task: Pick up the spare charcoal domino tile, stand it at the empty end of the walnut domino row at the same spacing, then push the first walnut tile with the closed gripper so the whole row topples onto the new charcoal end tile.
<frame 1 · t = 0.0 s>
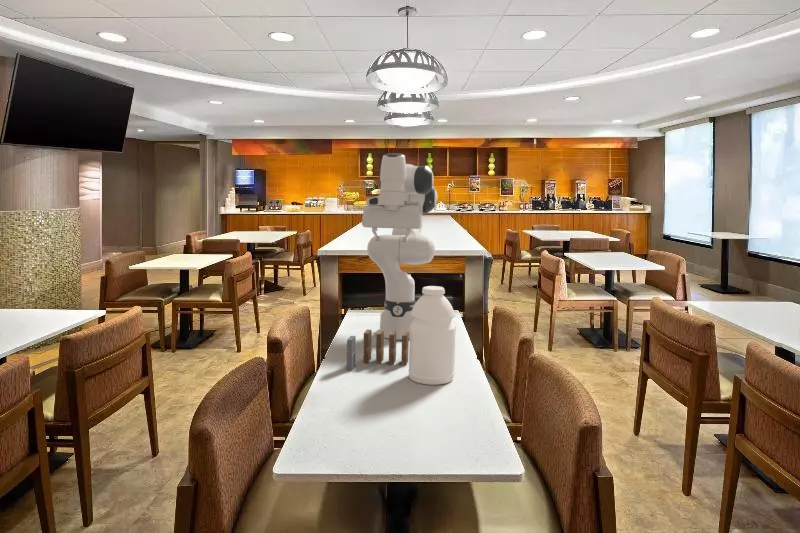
hand: (391, 241, 199), 39 cm above the table, tool pointing down, fingers open, 8 cm apart
domino 2: (392, 362, 193), on the table
end domino: (351, 368, 186), on the table
domino 4: (367, 360, 195), on the table
domino 3: (379, 361, 194), on the table
bottle: (431, 378, 179), on the table
domino 1: (404, 363, 193), on the table
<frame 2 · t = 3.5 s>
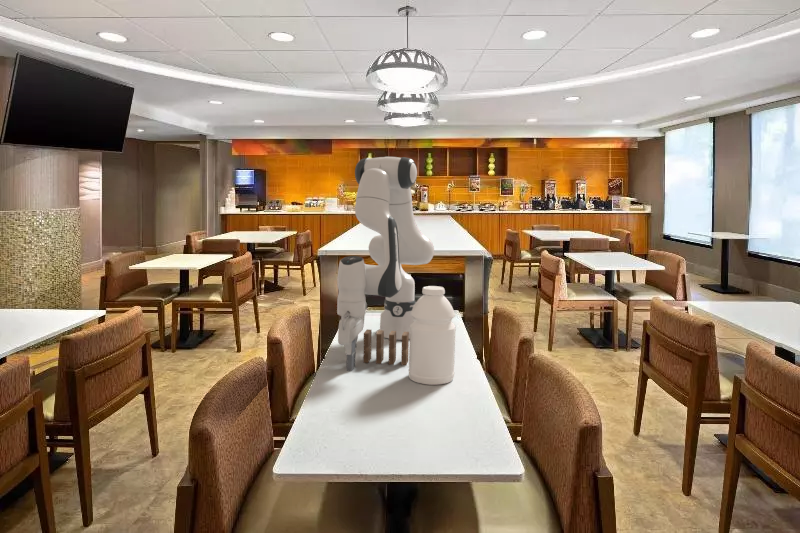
hand: (351, 351, 186), 6 cm above the table, tool pointing down, fingers closed on end domino, 5 cm apart
end domino: (351, 368, 186), on the table, touching gripper
everything else where it was.
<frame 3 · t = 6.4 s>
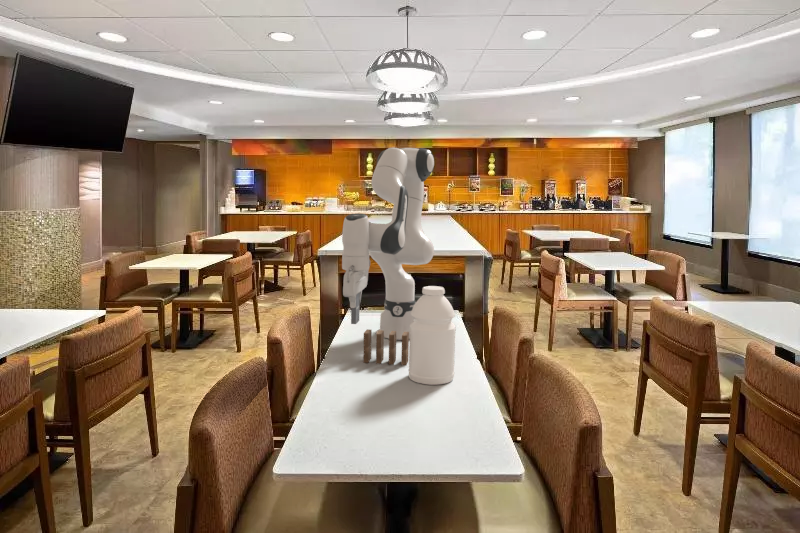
hand: (355, 305, 193), 18 cm above the table, tool pointing down, fingers closed on end domino, 5 cm apart
end domino: (355, 322, 193), point 13 cm above the table, touching gripper
everything else where it was.
when the fingers open (7 cm above the table, at t = 9.4 s): end domino stays where it is, on the table.
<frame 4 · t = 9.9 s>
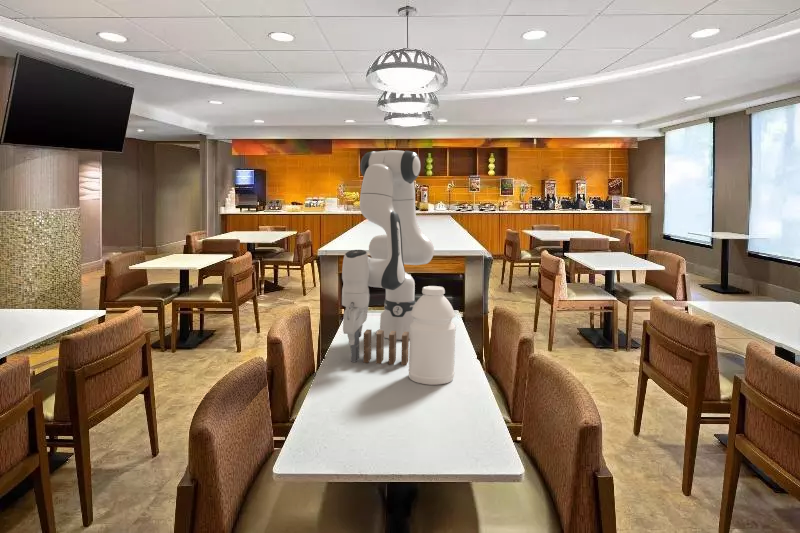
hand: (355, 340, 194), 7 cm above the table, tool pointing down, fingers open, 8 cm apart
end domino: (355, 359, 195), on the table
everything else where it was.
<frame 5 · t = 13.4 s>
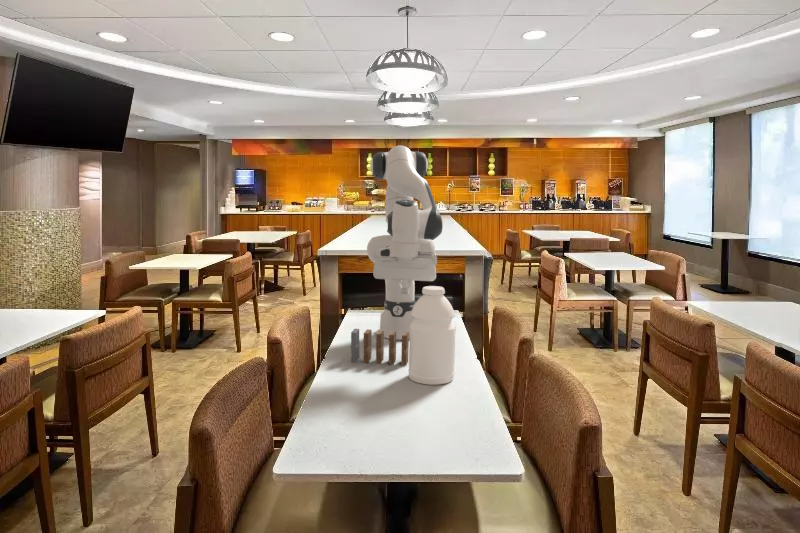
hand: (404, 293, 189), 23 cm above the table, tool pointing down, fingers closed
nothing on the table moved.
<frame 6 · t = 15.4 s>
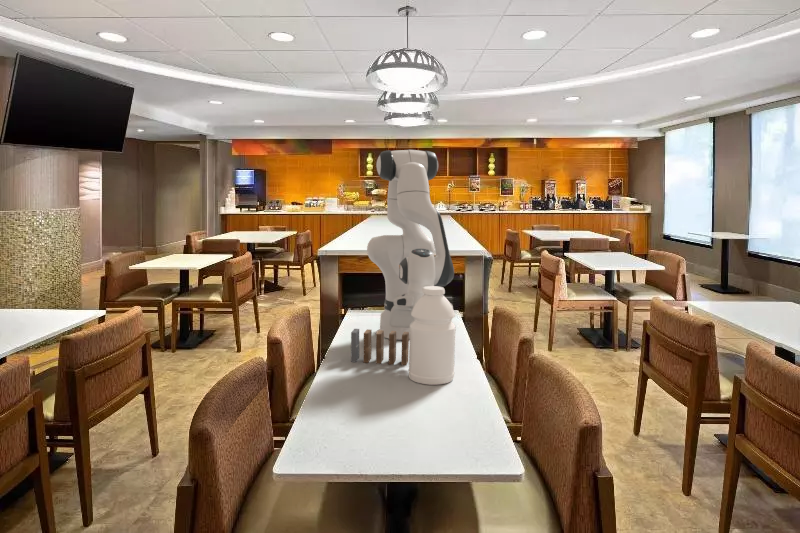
hand: (420, 341, 191), 8 cm above the table, tool pointing down, fingers closed
nothing on the table moved.
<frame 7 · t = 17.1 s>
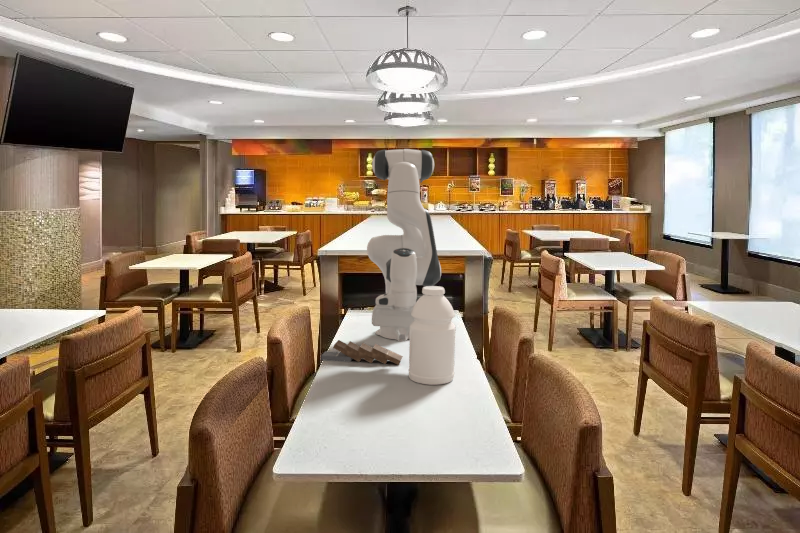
hand: (402, 340, 192), 8 cm above the table, tool pointing down, fingers closed
domino 2: (387, 359, 193), point 1 cm above the table, tilted 67°, touching domino 1, domino 3
end domino: (352, 357, 195), point 1 cm above the table, tilted 90°, touching domino 4
domino 4: (362, 357, 195), point 1 cm above the table, tilted 65°, touching domino 3, end domino
domino 3: (374, 359, 194), point 1 cm above the table, tilted 65°, touching domino 2, domino 4
domino 1: (400, 360, 193), point 1 cm above the table, tilted 68°, touching domino 2
everything else where it was.
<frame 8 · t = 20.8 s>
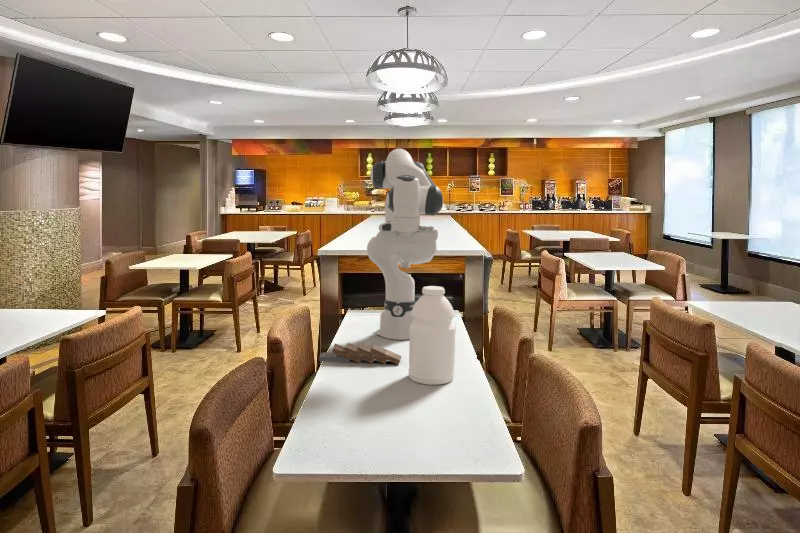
hand: (405, 267, 192), 31 cm above the table, tool pointing down, fingers closed
domino 4: (361, 358, 194), point 1 cm above the table, tilted 70°, touching domino 3, end domino
domino 3: (373, 358, 194), point 1 cm above the table, tilted 67°, touching domino 2, domino 4
at the end: end domino tilted 89°; domino 4 tilted 70°; end domino inside the target area (0.3 cm from its centre), point 0.5 cm above the table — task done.
